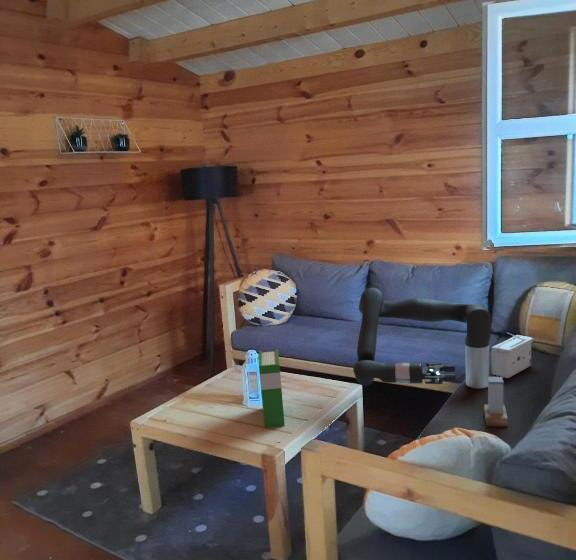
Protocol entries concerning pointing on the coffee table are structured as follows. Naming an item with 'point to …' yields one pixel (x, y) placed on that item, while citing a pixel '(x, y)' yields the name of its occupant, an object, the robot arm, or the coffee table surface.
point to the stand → (495, 417)
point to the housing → (495, 395)
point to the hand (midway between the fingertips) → (455, 373)
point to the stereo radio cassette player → (511, 356)
